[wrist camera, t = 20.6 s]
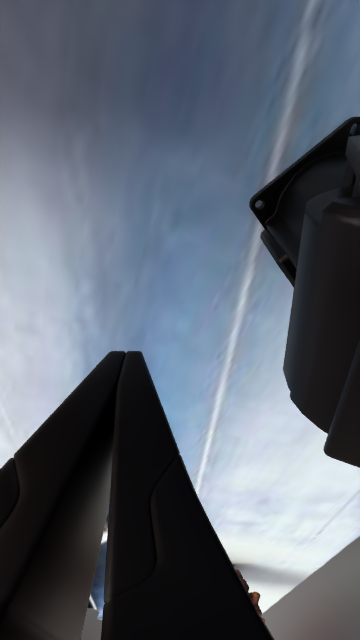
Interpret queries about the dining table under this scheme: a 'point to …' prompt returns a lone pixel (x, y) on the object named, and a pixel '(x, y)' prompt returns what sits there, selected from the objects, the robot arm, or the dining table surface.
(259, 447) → the dining table surface
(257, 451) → the dining table surface
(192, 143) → the dining table surface
